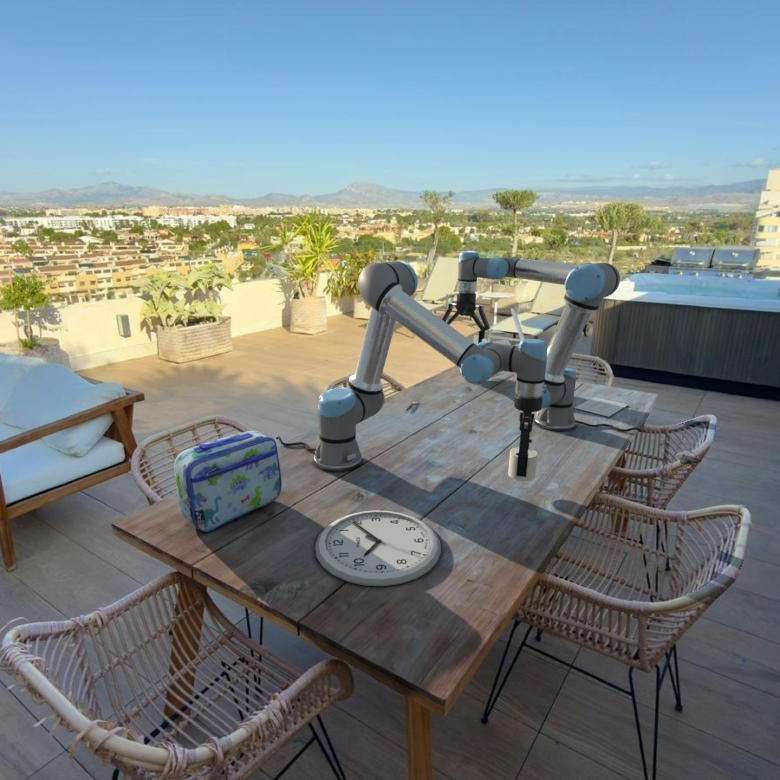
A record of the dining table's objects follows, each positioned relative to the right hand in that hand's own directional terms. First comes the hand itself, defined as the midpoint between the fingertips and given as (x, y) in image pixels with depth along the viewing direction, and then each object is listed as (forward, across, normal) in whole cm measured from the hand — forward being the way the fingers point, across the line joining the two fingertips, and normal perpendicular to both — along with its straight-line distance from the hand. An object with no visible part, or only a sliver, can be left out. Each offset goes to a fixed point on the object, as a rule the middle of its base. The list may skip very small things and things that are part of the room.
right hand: (463, 345), depth 212 cm
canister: (+24, +39, -58) cm, 73 cm away
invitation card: (+28, +53, +33) cm, 68 cm away
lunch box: (+28, -26, -108) cm, 114 cm away
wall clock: (+28, +15, -103) cm, 108 cm away
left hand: (+22, +39, -58) cm, 73 cm away
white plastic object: (+28, +5, +42) cm, 50 cm away
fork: (+28, -19, -6) cm, 34 cm away
